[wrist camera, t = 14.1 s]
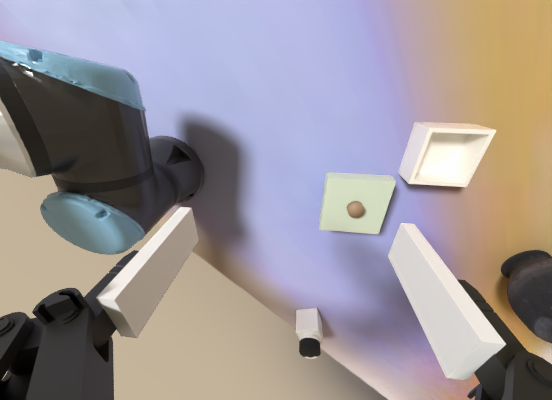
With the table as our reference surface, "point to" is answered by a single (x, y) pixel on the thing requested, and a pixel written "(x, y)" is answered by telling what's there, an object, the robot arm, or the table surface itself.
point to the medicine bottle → (309, 332)
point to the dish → (444, 153)
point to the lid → (355, 202)
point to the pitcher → (531, 290)
